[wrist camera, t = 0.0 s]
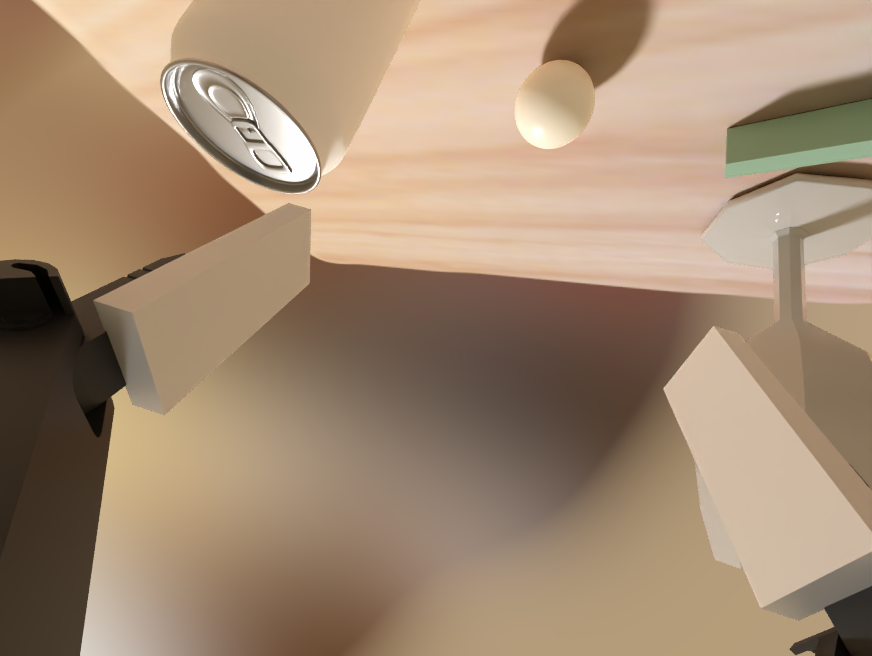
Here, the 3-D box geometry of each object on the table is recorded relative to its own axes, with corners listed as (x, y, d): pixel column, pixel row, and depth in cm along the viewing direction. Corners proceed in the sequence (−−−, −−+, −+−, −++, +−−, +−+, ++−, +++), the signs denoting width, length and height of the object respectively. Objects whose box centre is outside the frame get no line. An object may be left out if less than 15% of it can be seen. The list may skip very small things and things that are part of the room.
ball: (535, 31, 18) (518, 87, 17) (615, 52, 18) (603, 110, 17) (515, 104, 22) (499, 154, 21) (580, 121, 22) (569, 173, 21)
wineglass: (778, 272, 28) (783, 580, 22) (674, 234, 28) (646, 537, 21) (942, 203, 20) (1035, 665, 13) (800, 146, 20) (821, 596, 13)
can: (408, -169, 14) (266, 44, 10) (438, 27, 20) (357, 209, 16) (264, -144, 15) (95, 45, 12) (331, 29, 21) (234, 193, 17)
